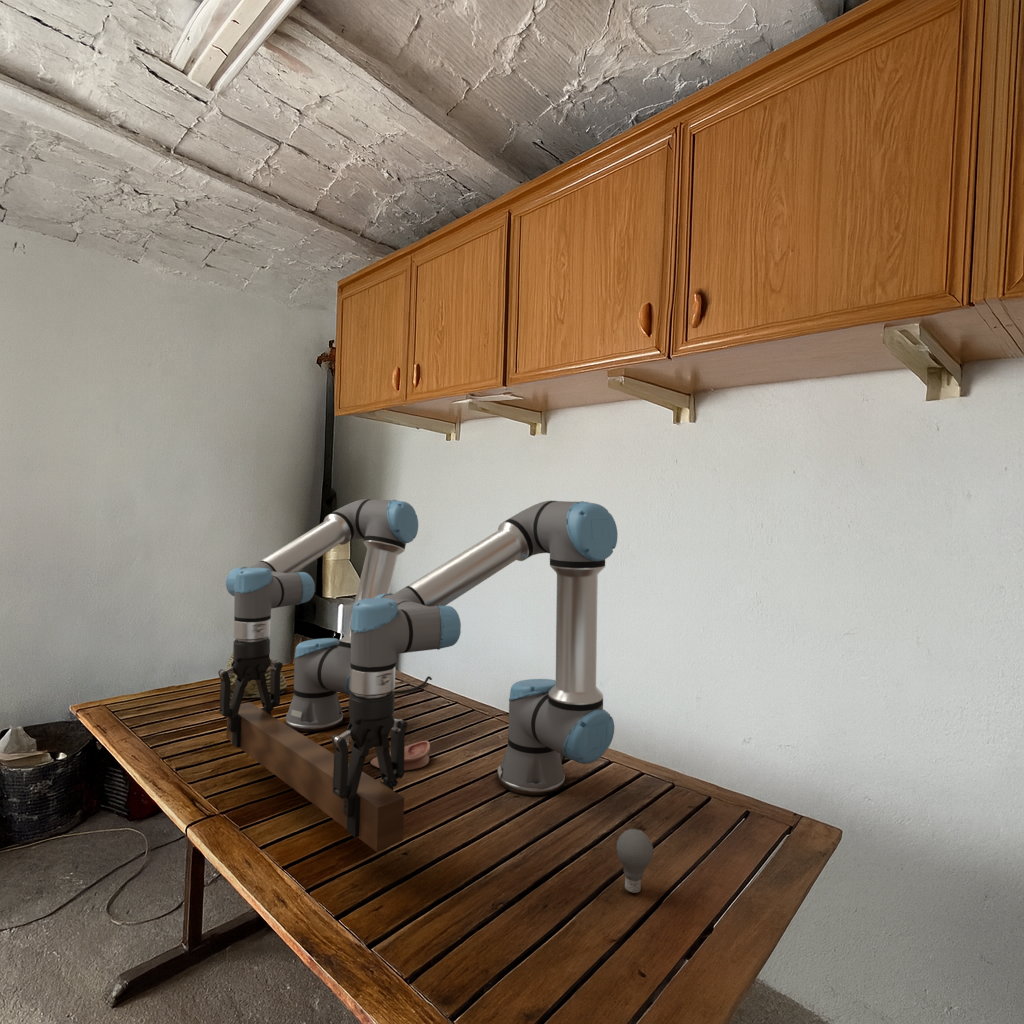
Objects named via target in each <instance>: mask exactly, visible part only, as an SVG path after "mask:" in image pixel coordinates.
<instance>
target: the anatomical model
mask: <svg viewBox="0 0 1024 1024" xmlns="http://www.w3.org/2000/svg"><path fill="white" fill-rule="evenodd" d="M430 751H431V743H430V742H429V741H428V740H423V741H417V742H415V743H412V744H408V745H404V771H411V770H415V769H421V768H423V767H425V766H427V765H428V764H429V761H430V757H429V755H428V754H429V753H430ZM389 752H390V757H391V751H389ZM370 764H371V765H372V766H373V767H375V768H378V769H380V768H379V764H378V759H377V756H376V757H374V758H373V759H371V761H370Z"/></svg>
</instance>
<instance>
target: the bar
mask: <svg viewBox="0 0 1024 1024" xmlns="http://www.w3.org/2000/svg"><path fill="white" fill-rule="evenodd" d="M238 716H240V717H241V743H240V747H238V748H239V749H240V750H241V751H242V752H244V753H245V754H246V755H248V756H249V757H251V758H252V759H253V760H254V761H256V762H258V763H259V764H260V765H261V766H263V767H264V768H265V769H266V770H268V771H269V772H271V774H273V775H274V776H276V777H277V778H279V779H280V780H281V781H282V782H284V783H285V784H286V785H288V786H289V787H290V788H292V789H293V790H294V791H295V792H297V793H298V794H299V795H300V796H301V797H304V798H305V800H307V801H309V802H310V803H311V804H312V805H314V806H315V807H316V808H318V809H319V810H321V811H322V812H323V813H325V814H326V815H327V816H329V817H330V818H331V819H333V820H334V821H335V822H337V824H339V825H340V826H342V827H343V828H345V829H346V830H347V816H345V815H344V813H343V801H344V798H343V799H341V798H340V797H338V796H337V795H336V794H334V793H333V770H334V752H332V751H330V750H328V749H327V748H325V747H323V746H321V745H320V744H319V743H317V742H315V741H314V740H312V739H310V737H307V736H306V735H304V734H302V732H301V733H300V731H296V730H294V729H292V728H291V727H289V726H288V725H286V723H284V722H282V721H281V720H280V719H278V718H277V717H274V715H272V714H271V715H270V714H268V713H266V712H265V711H263V710H262V708H260V707H259V706H257V705H255V704H254V703H252V702H251V701H248V702H242V703H241V705H240V709H239V712H238ZM228 720H229V718H228V717H226V736H225V737H226V739H227V740H229V741H230V742H231V743H232V732H230V731H229V729H228ZM348 766H349V762H348ZM356 795H358V796H359V797H360V823H359V836H358V837H357V838H358V839H359V840H360V841H362V842H363V843H364V844H366V845H367V846H368V847H369V848H371V849H372V850H374V851H375V852H377V853H378V852H380V851H382V850H384V849H387V848H389V847H392V846H394V845H396V844H398V843H400V842H403V841H404V823H405V822H404V820H405V819H404V817H405V796H403V795H402V794H399V793H398V792H396V791H395V790H394V789H393V790H391V789H390V788H388V787H387V786H385V785H383V784H382V783H380V781H378V780H377V779H376V778H374V777H372V776H370V775H369V774H367V773H366V772H364V771H362V774H361V778H360V782H359V786H358V790H357V794H356Z"/></svg>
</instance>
